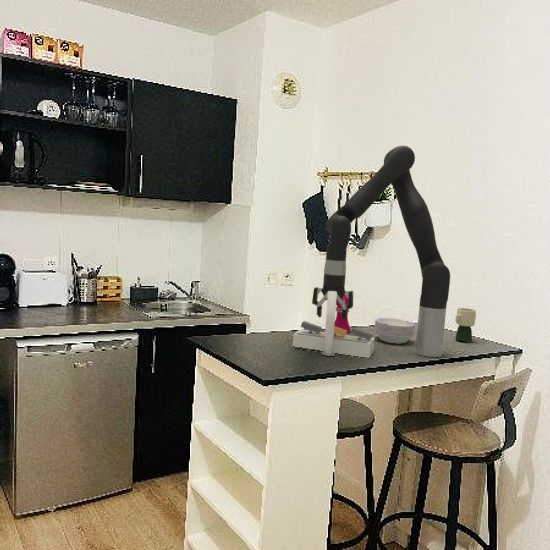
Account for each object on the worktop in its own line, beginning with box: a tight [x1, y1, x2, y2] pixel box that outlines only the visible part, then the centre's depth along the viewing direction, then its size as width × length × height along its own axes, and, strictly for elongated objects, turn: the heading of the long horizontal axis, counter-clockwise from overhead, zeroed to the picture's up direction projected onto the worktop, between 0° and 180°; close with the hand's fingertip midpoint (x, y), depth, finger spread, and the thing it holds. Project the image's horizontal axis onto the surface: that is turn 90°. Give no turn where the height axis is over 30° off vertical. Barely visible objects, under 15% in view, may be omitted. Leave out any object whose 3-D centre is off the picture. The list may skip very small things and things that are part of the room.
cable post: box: [321, 291, 337, 357], centre depth 189 cm, size 4×4×22 cm
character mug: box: [455, 307, 477, 342], centre depth 224 cm, size 11×7×13 cm, turn 119°
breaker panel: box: [292, 328, 376, 359], centre depth 198 cm, size 27×11×6 cm, turn 72°
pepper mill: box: [334, 294, 352, 334], centre depth 208 cm, size 7×7×20 cm
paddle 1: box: [300, 320, 323, 333], centre depth 200 cm, size 7×3×2 cm, turn 72°
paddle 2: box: [350, 326, 373, 340], centre depth 194 cm, size 7×3×2 cm, turn 72°
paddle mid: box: [334, 326, 347, 337], centre depth 197 cm, size 7×3×2 cm, turn 72°
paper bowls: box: [374, 317, 416, 345], centre depth 217 cm, size 15×15×8 cm
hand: (331, 318), depth 197 cm, fingers open, 8 cm apart
